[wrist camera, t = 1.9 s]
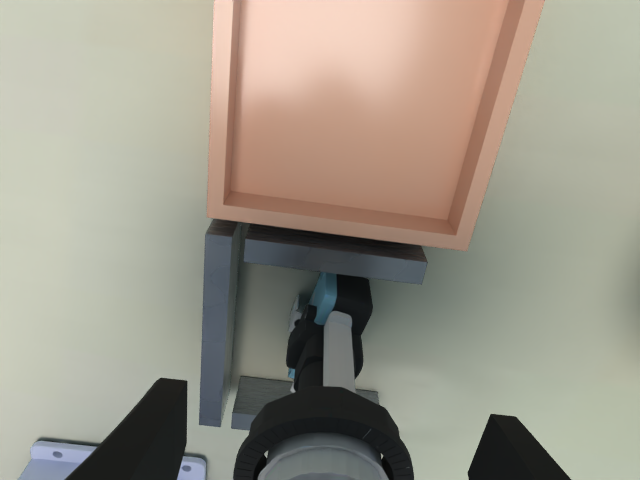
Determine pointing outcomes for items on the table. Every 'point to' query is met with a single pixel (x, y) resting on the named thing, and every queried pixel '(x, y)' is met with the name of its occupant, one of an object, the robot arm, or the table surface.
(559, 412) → the table surface
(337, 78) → the tray
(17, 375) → the table surface
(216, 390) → the bracket
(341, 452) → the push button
